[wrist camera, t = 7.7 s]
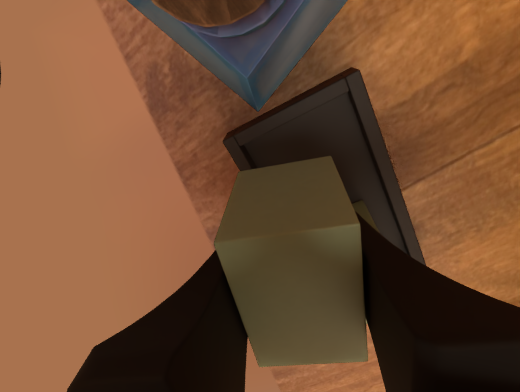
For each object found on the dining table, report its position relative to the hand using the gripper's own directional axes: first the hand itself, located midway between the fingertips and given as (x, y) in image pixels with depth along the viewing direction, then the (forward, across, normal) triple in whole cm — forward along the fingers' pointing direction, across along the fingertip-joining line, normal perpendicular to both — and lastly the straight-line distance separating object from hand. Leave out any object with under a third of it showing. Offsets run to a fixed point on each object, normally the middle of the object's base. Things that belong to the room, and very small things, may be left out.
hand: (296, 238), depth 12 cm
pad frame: (+8, -2, +3) cm, 9 cm away
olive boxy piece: (+1, 0, 0) cm, 1 cm away
